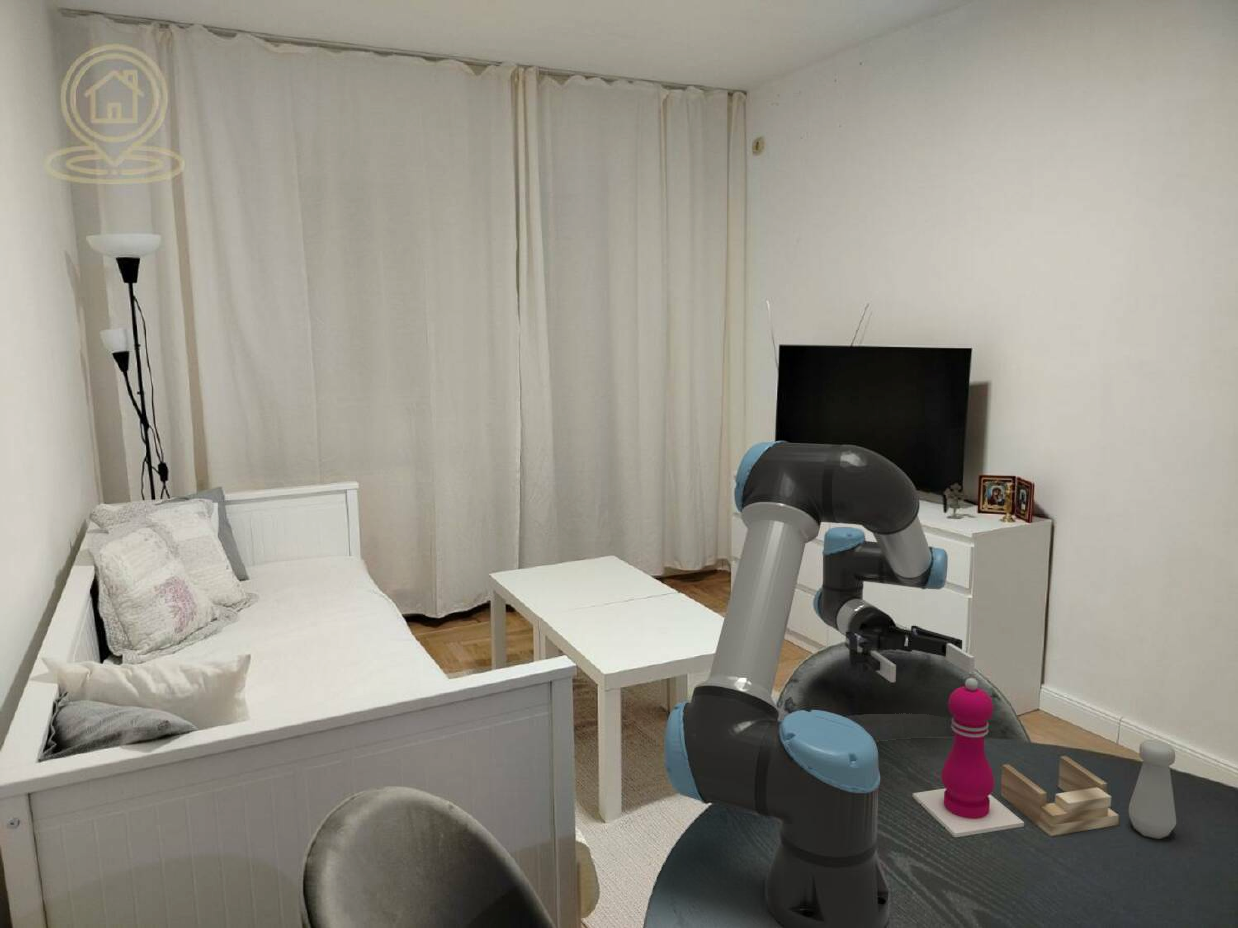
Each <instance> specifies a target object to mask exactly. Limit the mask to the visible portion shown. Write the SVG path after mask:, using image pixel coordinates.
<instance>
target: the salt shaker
mask: <svg viewBox="0 0 1238 928" xmlns="http://www.w3.org/2000/svg"><path fill="white" fill-rule="evenodd" d="M1138 748H1139V752H1138V753H1139V758H1140V759H1142V763H1141V768H1140V771H1139V773H1138V774H1139V775H1138V778H1137V780H1136V783H1135V787H1134V790H1133V793H1132V797H1131V799H1130V803H1129V805H1128V816H1129V818H1130V819H1129V820H1130V821H1131V824H1132V826H1133V830H1136V831H1137V832H1138V833H1139V834H1141V835H1142V836H1144V837H1148V838H1153V839H1157V840H1160V839H1163V838H1165V837H1168V836H1169V835H1170V834H1171V833H1172V831H1173V829H1174V828H1175V826H1176V825H1177V816H1176V815H1177V814H1176V807H1175V799H1174V790H1173V784H1172V775H1171V768H1170V766H1171V765H1173V764H1174V763H1175V761H1176V751H1175V749H1174V748H1173V747H1172V745H1170V744H1169V743H1166V742H1165V741H1162V740H1158V739H1146V740H1144V741H1142V742H1140V744H1139V747H1138Z"/></svg>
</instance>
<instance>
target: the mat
mask: <svg viewBox="0 0 1238 928" xmlns="http://www.w3.org/2000/svg"><path fill="white" fill-rule="evenodd" d="M945 790H946V788H945V787H944V788H940V789H932V790H925V791H920V792H919V791H918V792H912V798H913V799H914V800H915V801H916V802H917V803H918V804H919V805H920V804H921V805H920V806H922V808H924V810H926V811H927V813H929V814H930V815H931V816H932V817H933V818H934V819H935V820H936V821H937V822H938V823H939V824H940V825H941V826H943V828H944V827H945V828H944V829H945V830H947V831H948V832H949V833H950V834H951V836H953V837H954V838H959V837H966V836H973V835H979V834H985V833H992V832H999V831H1003V830H1005V831H1006V830H1010V829H1016V828H1022V827H1023V828H1024V827H1025V822H1024V821H1023V820H1022V819H1021V818H1020V817H1018V816H1017V815H1016V814H1015V813H1013V812H1012V811H1011V810H1010V809H1009V808H1007V807H1006V805H1003V803H1001V802H1000V801H999V800H998V799H996V798H995V797H994V796H993V795H991V794H990V795H988V797H989V799H990V807H989V813H988V814H987V815H986V816H984V817H981V818H965V817H961V816H958V815H955V814H953V813H952V812H950V811H949V810H948V809H947V808H946V807H945V805H944V792H945Z"/></svg>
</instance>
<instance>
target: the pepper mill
mask: <svg viewBox="0 0 1238 928" xmlns="http://www.w3.org/2000/svg"><path fill="white" fill-rule="evenodd" d="M948 710H949V712H950V713H951V715H952V716H953V717H951V729H952V731H953V732H954V737H953V739H954V740H953V744H952V749H951V751H950V752H949V754H948V756H947V758H946V760H945V761H944V763H943V766H942V769H941V777H940V778H941V782H942V785H943V786H944V789H945V788H946V790H945V792H944V805H945V807H946V808H947V809H948V810H949V811H950V812H952V813H953V814H955V815H958V816H961V817H965V818H981V817H984V816H986V815H987V814H988V813H989V807H990V799H989V797H988V795H991V794H992V792H993V791H994V788H995V777H994V773H993V769H992V767H991V765H990V763H989V762H988V761H989V760H988V759H987V755H986V752H985V738H986V735H988V734H989V725H990V724H989V722H988V721H989V720H990V719H991V718H992V716H993V714H994V705H993V701H992V698H991V697H990V695H989V694H988V693H987V692H986V691H984V689H982V688H979V682H978V681H977V680H976V679H975V678H974V677H973V678H972V677H970V678H967V679H966V680H965V682H964V686H961V687H960V686H959V687H958V688H956V689H954V690H953V691H952V693H950V696H949V698H948Z"/></svg>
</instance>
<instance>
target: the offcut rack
mask: <svg viewBox="0 0 1238 928" xmlns="http://www.w3.org/2000/svg"><path fill="white" fill-rule="evenodd" d="M1058 768H1059V769H1058V785H1057V787H1058V788H1060V790H1062V791H1063V792H1060V793H1055V795H1054V802H1051V803H1047V794H1048V793H1047V792H1046V791H1045V790H1044V789H1042V788H1041V787H1039V786H1038V785H1037V784H1036V783H1034V782H1033V781H1031V779H1029V778H1028V777H1027V776H1024V774H1022V773H1021V772H1019V770H1017V769H1015V768H1014V767H1013V766H1012V765H1010V764H1009V763H1006V764H1002V765H1001V788H1000V796H1001V797H1002V798H1003V799H1004V800H1005V801H1007V802H1008V803H1009V804H1011V806H1013V807H1014V808H1015V809H1016V810H1018V811H1019V812H1021V814H1023V815H1024V816H1025V817H1027V818H1028V819H1029V820H1030V821H1031V822H1033V823H1034V824H1035V825H1036V826H1037V827H1039V828H1040V829H1041V830H1042V831H1044V832H1045V833H1046V834H1047V835H1049V837H1053V836H1059V835H1066V834H1071V833H1072V834H1073V833H1077V832H1083V831H1089V830H1094V829H1095V830H1096V829H1101V828H1102V829H1103V828H1109V827H1112V826H1119V820H1120V819H1119V818H1120V815H1119V814H1118V813H1116V812H1115V811H1114V810H1112V809H1111V808H1110V807H1111V805H1112V796H1111V795H1110V794H1108V792H1107V791H1108V783H1107V782H1106V781H1104V780H1103V779H1102V778H1100V777H1098V776H1097V775H1095V774H1093V773H1092V772H1090V771H1089V770H1088V769H1086V768H1085V767H1083V766H1082V765H1080V763H1079V764H1078V763H1077V762H1076V761H1075V760H1073V759H1071V757H1069V756H1067V755H1063V756H1059V766H1058Z"/></svg>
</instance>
